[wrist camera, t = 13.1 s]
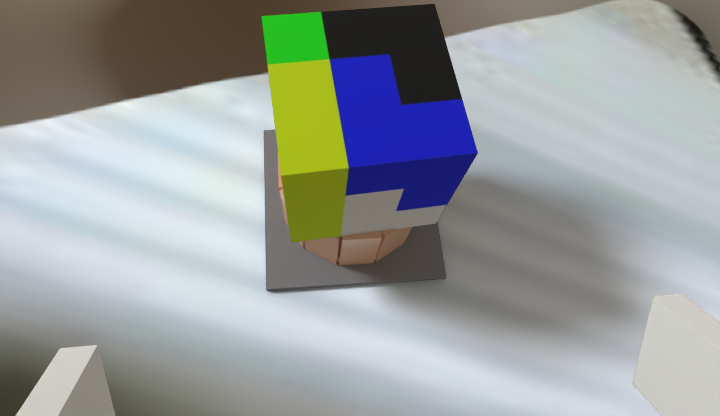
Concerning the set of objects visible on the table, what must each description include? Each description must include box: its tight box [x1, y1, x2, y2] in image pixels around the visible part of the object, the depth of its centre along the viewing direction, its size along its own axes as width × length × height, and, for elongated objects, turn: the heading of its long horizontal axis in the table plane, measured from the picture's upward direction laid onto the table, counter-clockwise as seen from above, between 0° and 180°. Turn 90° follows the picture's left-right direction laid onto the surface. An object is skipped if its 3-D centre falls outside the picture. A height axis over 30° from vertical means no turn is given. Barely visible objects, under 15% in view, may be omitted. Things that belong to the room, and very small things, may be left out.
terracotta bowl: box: [278, 156, 412, 265], centre depth 39 cm, size 11×11×6 cm
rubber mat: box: [264, 130, 446, 291], centre depth 42 cm, size 14×14×1 cm
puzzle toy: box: [262, 4, 478, 243], centre depth 31 cm, size 10×10×10 cm
